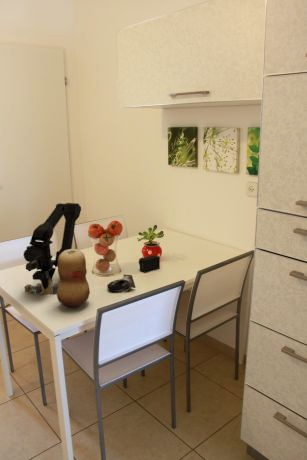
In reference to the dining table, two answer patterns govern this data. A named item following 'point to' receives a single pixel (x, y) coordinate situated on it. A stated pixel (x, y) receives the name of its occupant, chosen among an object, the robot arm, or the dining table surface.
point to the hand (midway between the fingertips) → (47, 286)
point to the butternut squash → (72, 278)
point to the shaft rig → (40, 288)
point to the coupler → (48, 287)
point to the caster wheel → (122, 284)
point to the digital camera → (149, 263)
